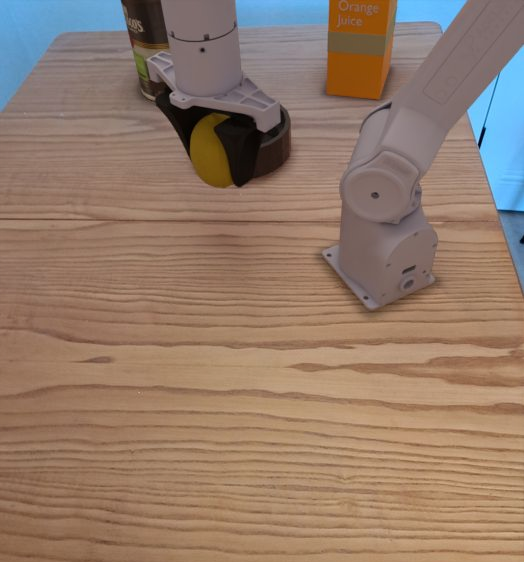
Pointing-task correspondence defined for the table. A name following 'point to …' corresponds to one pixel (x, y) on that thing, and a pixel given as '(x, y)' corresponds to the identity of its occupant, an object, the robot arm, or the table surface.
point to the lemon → (210, 153)
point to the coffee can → (146, 39)
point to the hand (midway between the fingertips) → (221, 169)
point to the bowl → (271, 144)
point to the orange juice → (359, 46)
